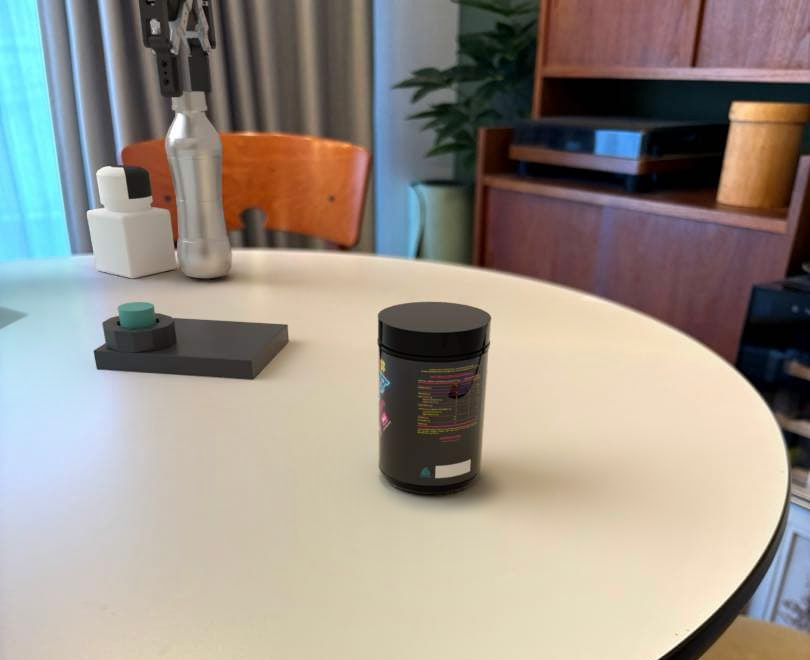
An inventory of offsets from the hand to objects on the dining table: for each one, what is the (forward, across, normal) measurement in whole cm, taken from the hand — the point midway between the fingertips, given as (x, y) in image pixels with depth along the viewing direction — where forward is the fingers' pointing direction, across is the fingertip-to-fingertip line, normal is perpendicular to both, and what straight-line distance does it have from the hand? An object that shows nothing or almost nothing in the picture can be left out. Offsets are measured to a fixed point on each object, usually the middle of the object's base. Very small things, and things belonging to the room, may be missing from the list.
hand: (187, 95), depth 91 cm
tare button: (+17, +31, +6) cm, 36 cm away
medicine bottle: (+20, -2, -10) cm, 22 cm away
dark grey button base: (+20, +29, +10) cm, 36 cm away
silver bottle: (+20, 0, 0) cm, 20 cm away
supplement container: (+20, +50, +34) cm, 64 cm away
